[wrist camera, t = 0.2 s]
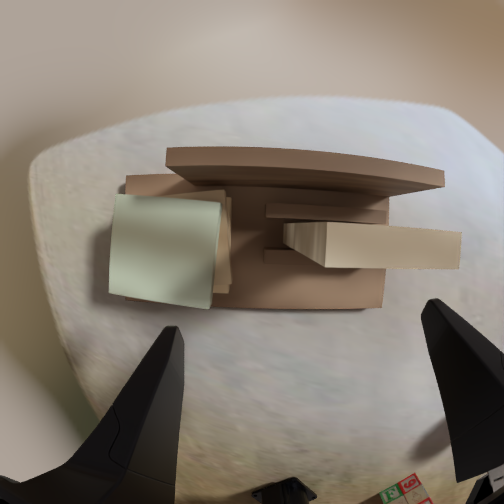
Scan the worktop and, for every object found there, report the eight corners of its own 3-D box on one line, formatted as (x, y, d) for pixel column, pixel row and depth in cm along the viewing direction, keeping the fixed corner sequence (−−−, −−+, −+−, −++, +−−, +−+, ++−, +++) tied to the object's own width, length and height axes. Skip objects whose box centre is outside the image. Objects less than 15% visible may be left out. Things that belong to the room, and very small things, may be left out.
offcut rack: (374, 303, 24) (430, 340, 15) (132, 296, 24) (76, 331, 15) (381, 187, 23) (444, 170, 14) (133, 178, 23) (74, 156, 14)
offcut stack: (233, 294, 23) (229, 310, 18) (133, 288, 23) (109, 301, 18) (236, 194, 22) (232, 186, 18) (133, 194, 22) (108, 188, 17)
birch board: (355, 245, 22) (459, 268, 9) (282, 243, 22) (324, 267, 9) (356, 227, 22) (461, 232, 9) (283, 223, 22) (327, 222, 9)
